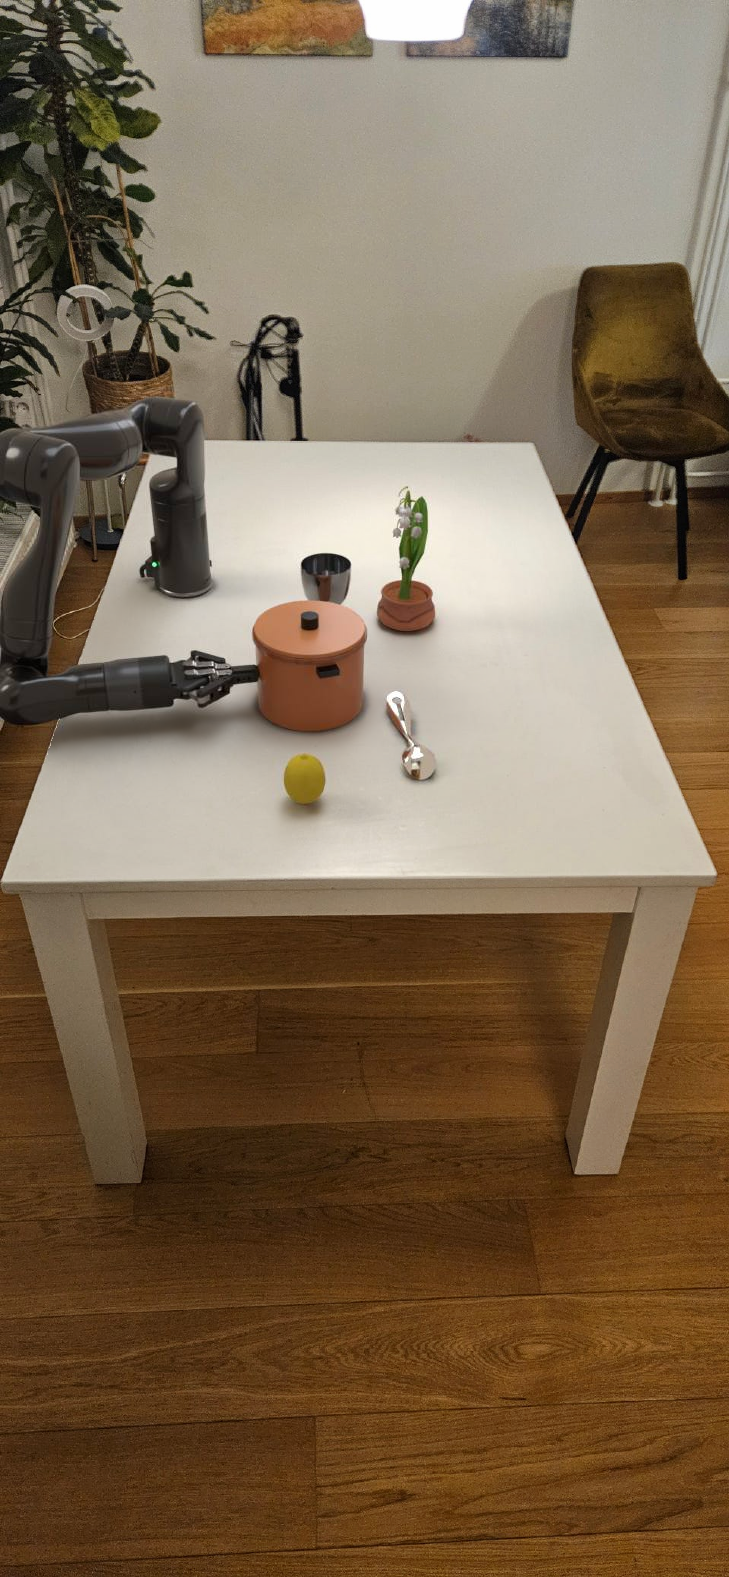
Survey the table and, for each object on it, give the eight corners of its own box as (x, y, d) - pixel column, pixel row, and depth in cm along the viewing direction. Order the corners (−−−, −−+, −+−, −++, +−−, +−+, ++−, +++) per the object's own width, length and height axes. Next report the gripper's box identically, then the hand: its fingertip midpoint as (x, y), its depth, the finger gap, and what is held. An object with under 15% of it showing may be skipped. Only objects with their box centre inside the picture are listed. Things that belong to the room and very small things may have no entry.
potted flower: (428, 644, 182) (437, 501, 167) (369, 637, 184) (372, 495, 169) (438, 611, 192) (448, 472, 176) (382, 604, 193) (386, 466, 178)
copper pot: (274, 745, 158) (271, 656, 149) (241, 679, 173) (236, 594, 164) (383, 725, 163) (386, 638, 154) (342, 662, 177) (343, 579, 168)
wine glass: (356, 640, 183) (358, 557, 174) (340, 663, 177) (341, 579, 168) (312, 632, 185) (311, 549, 176) (294, 654, 179) (292, 570, 170)
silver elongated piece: (380, 682, 165) (411, 679, 166) (379, 701, 168) (409, 698, 168) (406, 766, 151) (440, 763, 151) (405, 786, 153) (438, 783, 154)
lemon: (283, 791, 150) (282, 743, 145) (324, 789, 150) (324, 742, 146) (285, 816, 146) (283, 768, 141) (326, 814, 146) (326, 766, 141)
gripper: (137, 685, 151) (262, 674, 154) (134, 638, 162) (251, 628, 164) (143, 730, 156) (264, 718, 159) (139, 682, 166) (253, 671, 169)
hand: (257, 673), depth 162 cm, fingers closed
